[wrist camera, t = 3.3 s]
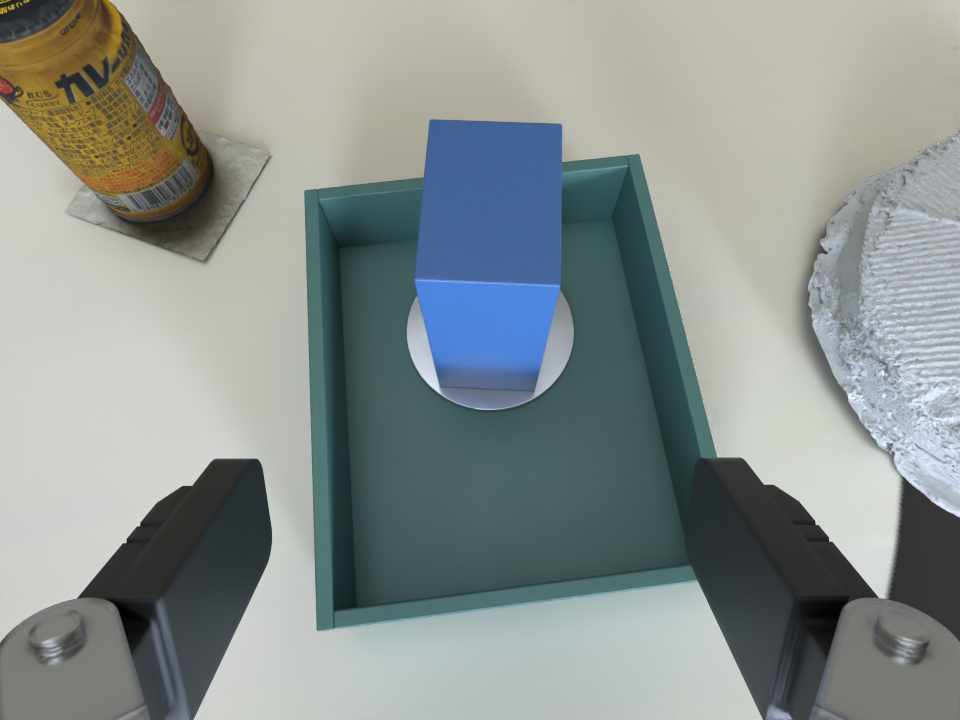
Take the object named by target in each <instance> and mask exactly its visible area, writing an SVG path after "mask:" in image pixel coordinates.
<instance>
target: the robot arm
mask: <svg viewBox="0 0 960 720" xmlns="http://www.w3.org/2000/svg"><path fill="white" fill-rule="evenodd" d="M271 545H272V528H271V521H270V515H269V508H268V501H267V494H266V488H265V481H264V474H263V469H262V465H261V463H260V461H259V460H258V459H214V460H213V461H212V462H211V463H210V464H209V465H208V466H207V468H206V469H205V470H204V472H203V473H202V474H201V475H200V477H199V478H198V479H197V481H196V482H195V483H194V484H193V486H182V487H180V488H179V489H177V490H176V491H174V492H173V493H171V494H170V495H168V496H167V497H165V498H164V499H162V500H161V501H159V502H158V503H156V505H155V506H154V507H153V508H152V509H151V511H150V512H149V513H148V514H147V515H146V517H145V518H144V519H143V520H142V521H141V525H140V527H136V529H135V530H134V531H133V532H132V533H131V535H130V536H129V537H128V538H127V542H126V543H123V544H122V545H121V547H120V548H119V549H118V550H117V551H116V553H115V554H114V555H113V556H112V557H111V559H110V560H109V561H108V562H107V563H106V564H105V566H104V567H103V568H102V569H101V570H100V572H99V573H98V574H97V575H96V576H95V578H94V579H93V580H92V581H91V582H90V584H89V585H88V586H87V587H86V588H85V590H84V591H83V592H82V593H81V594H80V596H79V597H78V598H77V599H73V600H69V601H65V602H62V603H59V604H56V605H53V606H50V607H48V608H46V609H43V610H41V611H39V612H38V613H36V614H34V615H32V616H30V617H29V618H27V619H26V620H24V621H23V622H21V623H20V624H19V625H17V626H16V627H15V628H14V629H13V630H11V631H10V632H9V633H8V634H7V635H6V636H5V638H4V639H3V640H2V641H1V642H0V720H193V719H194V717H195V715H196V713H197V711H198V709H199V707H200V705H201V703H202V700H203V698H204V696H205V694H206V692H207V690H208V688H209V686H210V684H211V682H212V679H213V677H214V675H215V673H216V671H217V669H218V667H219V665H220V663H221V660H222V658H223V656H224V654H225V652H226V650H227V648H228V646H229V644H230V642H231V639H232V637H233V635H234V633H235V631H236V629H237V627H238V625H239V623H240V620H241V618H242V616H243V614H244V612H245V610H246V608H247V606H248V604H249V602H250V599H251V597H252V595H253V593H254V591H255V589H256V587H257V585H258V583H259V581H260V578H261V576H262V574H263V572H264V570H265V568H266V566H267V563H268V560H269V557H270V552H271ZM685 545H686V552H687V556H688V560H689V562H690V565H691V567H692V569H693V571H694V573H695V576H696V578H697V580H698V582H699V584H700V586H701V588H702V590H703V593H704V595H705V597H706V599H707V601H708V603H709V605H710V608H711V610H712V612H713V614H714V616H715V618H716V620H717V622H718V625H719V627H720V629H721V631H722V633H723V635H724V637H725V639H726V642H727V644H728V646H729V648H730V650H731V652H732V654H733V657H734V659H735V661H736V663H737V665H738V667H739V669H740V671H741V674H742V676H743V678H744V680H745V682H746V684H747V686H748V688H749V691H750V693H751V695H752V697H753V699H754V701H755V703H756V706H757V708H758V710H759V712H760V714H761V716H762V718H763V720H960V642H959V641H958V640H957V639H956V638H955V636H954V635H953V634H952V633H951V632H950V631H949V630H947V629H946V628H945V627H944V626H943V625H941V624H940V623H939V622H937V621H936V620H934V619H933V618H931V617H930V616H928V615H926V614H924V613H922V612H921V611H919V610H917V609H914V608H912V607H910V606H907V605H904V604H901V603H898V602H895V601H891V600H887V599H880V598H878V596H877V595H876V594H875V593H874V591H873V590H872V589H871V588H870V587H869V585H868V584H867V583H866V582H865V581H864V579H863V578H862V577H861V576H860V575H859V573H858V572H857V571H856V570H855V569H854V567H853V566H852V565H851V564H850V563H849V561H848V560H847V559H846V558H845V556H844V555H843V554H842V553H841V552H840V550H839V549H838V548H837V547H836V546H835V544H834V543H833V542H829V537H828V536H827V535H826V534H825V532H824V531H823V530H822V529H821V528H820V526H819V525H816V524H815V520H814V519H813V518H812V517H811V515H810V514H809V513H808V512H807V511H806V509H805V508H804V507H803V506H802V505H801V503H800V502H799V501H797V500H796V499H794V498H793V497H791V496H790V495H788V494H787V493H785V492H784V491H782V490H781V489H779V488H778V487H776V486H775V485H764V484H763V483H762V482H761V481H760V479H759V478H758V477H757V475H756V474H755V473H754V471H753V470H752V469H751V468H750V466H749V465H748V464H747V462H746V461H745V460H744V459H742V458H699V459H698V460H697V461H696V464H695V467H694V472H693V478H692V485H691V492H690V499H689V506H688V512H687V519H686V526H685Z"/></svg>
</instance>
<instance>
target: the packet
mask: <svg viewBox="0 0 960 720" xmlns="http://www.w3.org/2000/svg"><path fill="white" fill-rule="evenodd" d="M561 202H562V124H546V123H518V122H489V121H461V120H432V119H431V120H430V122H429V132H428V142H427V152H426V162H425V171H424V181H423V191H422V201H421V211H420V221H419V231H418V241H417V251H416V261H415V271H414V283H415V287H416V291H417V295H418V299H419V303H420V308H421V312H422V316H423V320H424V324H425V328H426V333H427V337H428V341H429V345H430V349H431V353H432V358H433V362H434V366H435V370H436V374H437V378H438V383H439V386H443V387H464V388H485V389H506V390H527V391H535V389H536V385H537V381H538V377H539V372H540V368H541V364H542V360H543V356H544V352H545V348H546V344H547V340H548V336H549V331H550V327H551V323H552V319H553V315H554V311H555V307H556V303H557V299H558V295H559V290H560V286H561Z"/></svg>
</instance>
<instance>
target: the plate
mask: <svg viewBox="0 0 960 720" xmlns="http://www.w3.org/2000/svg"><path fill="white" fill-rule="evenodd" d="M574 334H575V329H574V320H573V316H572V312H571V309H570V306H569V304H568V302H567V299H566V298H565V296H564V294H563V293H562V291H561V290H559V295H558V299H557V303H556V307H555V311H554V315H553V319H552V323H551V327H550V331H549V336H548V340H547V344H546V348H545V352H544V356H543V360H542V364H541V368H540V372H539V377H538V381H537V385H536V389H535V391H527V390H506V389H485V388H464V387H443V386H439V383H438V378H437V374H436V370H435V366H434V362H433V358H432V353H431V349H430V345H429V341H428V337H427V333H426V328H425V324H424V320H423V316H422V312H421V308H420V303H419V299H418V295H416V297H415V299H414V300H413V303H412V305H411V307H410V310H409V314H408V318H407V325H406V341H407V347H408V351H409V355H410V358H411V361H412V363H413V365H414V367H415V369H416V371H417V373H418V374H419V376H420V377H421V379H422V380H423V381H424V382H425V384H426V385H427V386H428V387H429V388H430V389H431V390H432V391H433V392H435V393H436V394H437V395H438V396H440V397H441V398H443V399H444V400H446V401H448V402H450V403H452V404H454V405H456V406H459V407H462V408H465V409H468V410H473V411H478V412H502V411H508V410H513V409H516V408H519V407H522V406H524V405H527V404H529V403H531V402H533V401H535V400H536V399H538V398H539V397H541V396H542V395H544V394H545V393H546V392H547V391H548V390H549V389H551V388H552V387H553V385H554V384H555V383H556V382H557V381H558V380H559V378H560V377H561V375H562V374H563V372H564V371H565V368H566V366H567V364H568V362H569V360H570V356H571V353H572V350H573V345H574Z"/></svg>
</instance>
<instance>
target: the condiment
mask: <svg viewBox="0 0 960 720" xmlns="http://www.w3.org/2000/svg"><path fill="white" fill-rule="evenodd" d="M0 99H1V100H2V101H4V102H5V104H6V105H7V106H8V107H9V108H10V109H11V110H12V111H13V112H14V113H15V114H16V115H17V116H18V117H19V118H20V119H21V120H22V121H23V122H24V123H25V124H26V125H27V126H28V127H29V128H30V129H31V130H32V131H33V132H34V133H35V134H36V135H37V136H38V137H39V138H40V139H41V140H42V141H43V142H44V143H45V144H46V145H47V146H48V148H50V149H51V150H52V151H53V152H54V153H55V154H56V155H57V157H59V158H60V159H61V161H62V162H63V163H64V164H65V165H66V166H67V167H68V168H69V169H70V170H71V171H72V172H73V173H74V174H75V175H76V176H77V177H78V178H79V179H80V180H81V181H82V182H83V183H84V184H85V185H84V187H83V188H82V189H81V190H80V191H79V193H78V194H77V195H76V197H75V198H74V199H73V201H72V202H71V203H70V205H69V206H68V208H67V209H66V211H65V213H68V214H71V215H73V216H76V217H79V218H81V219H84V220H87V221H89V222H92V223H95V224H98V225H101V226H103V227H106V228H108V229H111V230H114V231H117V232H120V233H123V234H125V235H129V236H132V237H134V238H137V239H142V240H145V241H148V242H150V243H152V244H155V245H158V246H161V247H163V248H166V249H168V250H171V251H174V252H178V253H181V254H185V255H188V256H190V257H193V258H195V259H198V260H201V261H204V259H205V258H206V257H207V255H208V254H209V252H210V250H211V249H212V248H213V247H214V246H215V244H216V242H217V241H218V239H219V238H220V236H221V235H222V233H223V232H224V230H225V228H226V226H227V225H228V224H229V223H230V221H231V219H232V218H233V216H234V214H235V213H236V211H237V209H238V208H239V206H240V204H241V203H242V201H243V200H245V199H246V196H247V193H248V191H249V189H250V188H251V185H252V184H253V182H254V181H255V179H256V178H257V177H258V175H259V174H260V172H261V169H262V167H263V166H264V164H265V162H266V160H267V159H268V157H269V156H270V154H271V153H269V152H266V151H263V150H261V149H258V148H255V147H251V146H248V145H245V144H243V143H240V142H237V141H232V140H229V139H226V138H224V137H221V136H217V135H214V134H210V133H207V132H203V131H199V130H196V129H194V128H193V126H192V124H191V123H190V121H189V120H188V117H187V115H186V113H185V112H184V111H183V109H182V107H181V106H180V105H179V104H178V103H177V100H176V98H175V97H174V95H173V93H172V90H171V87H170V86H168V85H167V84H166V82H165V81H164V80H163V78H162V76H161V74H160V71H159V70H158V69H157V68H156V67H155V66H154V64H153V63H152V61H151V59H150V57H149V55H148V54H147V53H146V51H145V49H144V47H143V45H142V44H141V42H140V41H139V39H138V37H137V36H136V35H135V34H134V32H132V29H131V27H130V25H129V24H128V22H127V21H126V19H125V18H124V16H123V15H122V14H121V13H120V12H119V11H118V10H117V8H116V7H115V6H114V5H113V4H112V3H111V2H110V1H108V0H0Z"/></svg>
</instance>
